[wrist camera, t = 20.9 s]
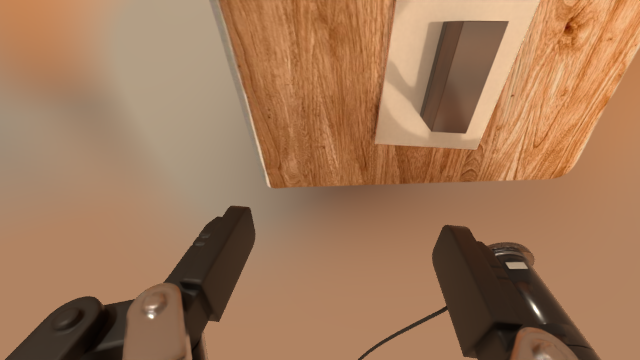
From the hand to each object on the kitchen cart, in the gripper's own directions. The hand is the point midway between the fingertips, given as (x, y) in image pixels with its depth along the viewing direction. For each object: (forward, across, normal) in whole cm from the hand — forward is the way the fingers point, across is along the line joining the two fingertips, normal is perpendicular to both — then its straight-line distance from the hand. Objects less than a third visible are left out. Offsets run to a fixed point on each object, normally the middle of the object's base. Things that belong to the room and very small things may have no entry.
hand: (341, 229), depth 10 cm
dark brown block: (+27, -12, -2) cm, 29 cm away
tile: (+28, -12, -2) cm, 31 cm away
